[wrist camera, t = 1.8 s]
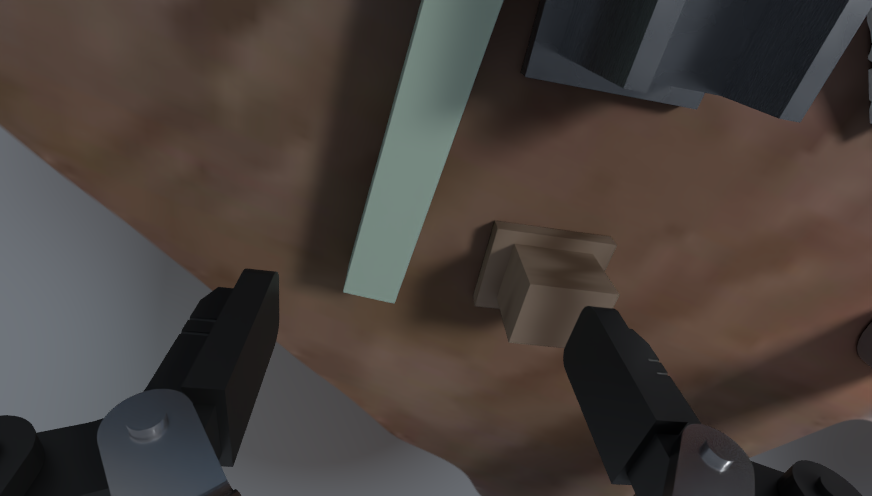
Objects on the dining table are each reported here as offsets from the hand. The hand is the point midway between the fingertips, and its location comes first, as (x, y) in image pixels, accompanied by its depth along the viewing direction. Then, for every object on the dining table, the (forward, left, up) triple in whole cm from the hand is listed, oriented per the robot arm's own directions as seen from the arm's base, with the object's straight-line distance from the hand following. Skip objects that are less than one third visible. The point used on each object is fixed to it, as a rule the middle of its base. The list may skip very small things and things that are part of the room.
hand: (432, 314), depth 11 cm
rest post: (-11, +10, -19) cm, 24 cm away
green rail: (0, 0, -19) cm, 19 cm away
